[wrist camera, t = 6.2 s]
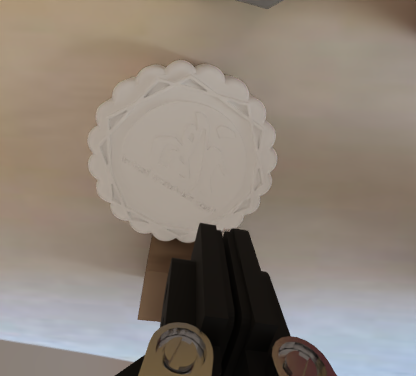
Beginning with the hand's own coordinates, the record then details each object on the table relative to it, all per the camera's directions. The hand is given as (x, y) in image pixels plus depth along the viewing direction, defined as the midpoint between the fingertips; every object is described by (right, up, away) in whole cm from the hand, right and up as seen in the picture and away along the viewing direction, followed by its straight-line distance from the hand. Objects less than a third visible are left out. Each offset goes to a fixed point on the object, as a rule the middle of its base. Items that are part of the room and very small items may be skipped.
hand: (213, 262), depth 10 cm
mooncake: (-2, +5, +11) cm, 13 cm away
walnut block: (-3, -3, +15) cm, 15 cm away
